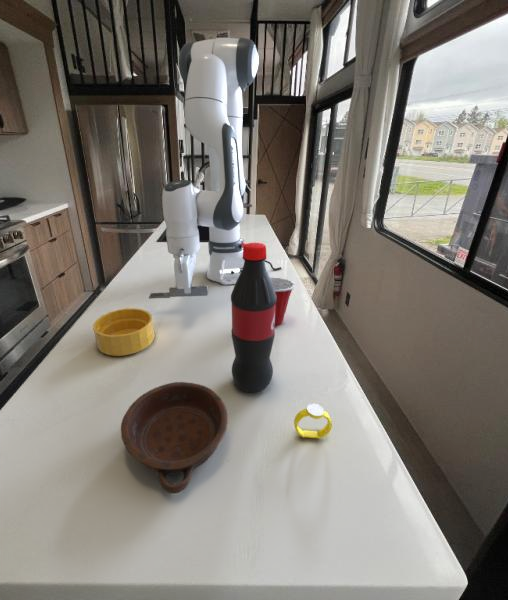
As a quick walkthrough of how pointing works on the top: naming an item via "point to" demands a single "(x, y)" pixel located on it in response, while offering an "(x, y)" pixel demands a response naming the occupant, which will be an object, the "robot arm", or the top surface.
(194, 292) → the grey spatula
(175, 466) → the dish
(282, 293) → the plastic cup
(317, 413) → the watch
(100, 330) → the bowl
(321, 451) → the top surface
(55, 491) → the top surface
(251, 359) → the cola bottle
